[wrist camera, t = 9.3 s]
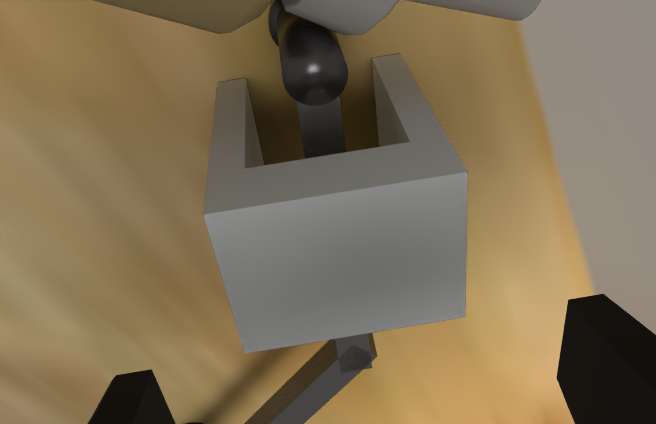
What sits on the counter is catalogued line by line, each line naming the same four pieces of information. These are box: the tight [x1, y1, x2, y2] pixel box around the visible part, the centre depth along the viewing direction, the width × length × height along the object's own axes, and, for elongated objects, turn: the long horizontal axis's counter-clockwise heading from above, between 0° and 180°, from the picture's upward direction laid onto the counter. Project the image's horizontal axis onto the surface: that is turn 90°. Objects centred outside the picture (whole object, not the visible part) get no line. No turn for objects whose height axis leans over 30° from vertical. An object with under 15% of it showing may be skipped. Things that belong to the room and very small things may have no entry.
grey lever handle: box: [188, 0, 377, 424], centre depth 20 cm, size 20×6×4 cm, turn 159°
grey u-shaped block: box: [203, 54, 468, 354], centre depth 16 cm, size 4×5×6 cm
